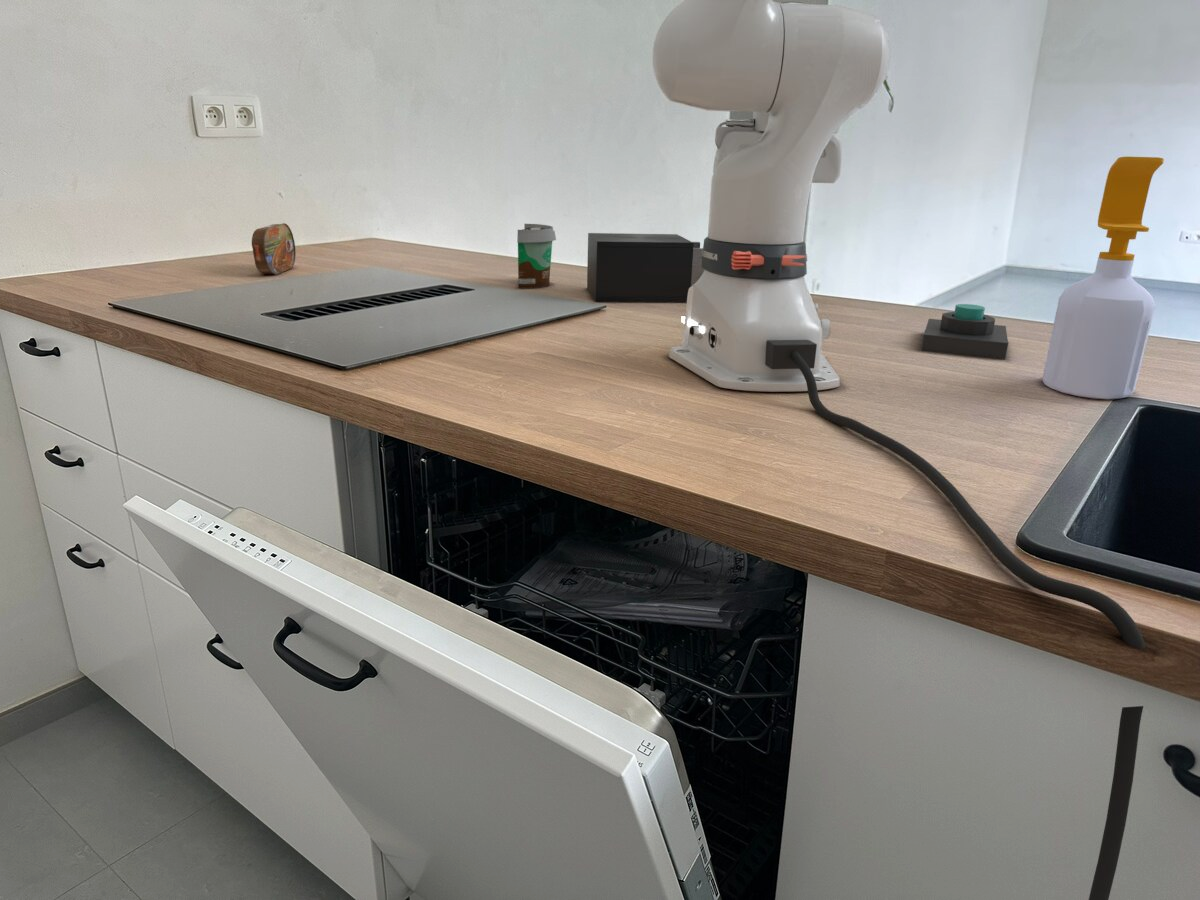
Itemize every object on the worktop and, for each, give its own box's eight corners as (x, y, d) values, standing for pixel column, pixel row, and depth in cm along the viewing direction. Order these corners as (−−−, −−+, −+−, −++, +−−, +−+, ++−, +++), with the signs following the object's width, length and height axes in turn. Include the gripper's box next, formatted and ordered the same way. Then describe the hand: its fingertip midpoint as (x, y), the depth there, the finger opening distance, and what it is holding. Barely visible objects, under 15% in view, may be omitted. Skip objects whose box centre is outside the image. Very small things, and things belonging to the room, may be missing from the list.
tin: (269, 277, 153) (264, 229, 150) (251, 277, 153) (246, 228, 150) (298, 266, 167) (294, 221, 164) (282, 265, 167) (278, 220, 164)
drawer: (732, 285, 153) (735, 240, 150) (750, 296, 142) (755, 248, 140) (628, 284, 150) (630, 239, 148) (639, 296, 140) (641, 247, 137)
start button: (982, 323, 112) (985, 309, 111) (953, 320, 113) (955, 307, 112) (982, 318, 115) (984, 305, 114) (953, 315, 116) (955, 303, 115)
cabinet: (674, 289, 152) (677, 234, 149) (690, 302, 141) (693, 242, 137) (586, 289, 150) (588, 232, 147) (595, 302, 139) (597, 241, 135)
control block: (1005, 360, 108) (1011, 328, 107) (921, 351, 112) (926, 320, 110) (1002, 341, 118) (1008, 312, 117) (926, 333, 122) (930, 305, 121)
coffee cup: (553, 290, 148) (553, 231, 144) (517, 289, 148) (517, 230, 145) (557, 279, 159) (558, 224, 156) (524, 278, 160) (524, 223, 156)
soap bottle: (1046, 394, 93) (1097, 155, 85) (1037, 375, 101) (1083, 155, 93) (1140, 404, 90) (1202, 158, 82) (1123, 383, 98) (1178, 157, 90)
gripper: (721, 118, 130) (715, 212, 135) (850, 122, 133) (839, 214, 138) (711, 118, 136) (705, 208, 141) (835, 122, 139) (824, 210, 144)
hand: (772, 211), depth 139 cm, fingers closed
